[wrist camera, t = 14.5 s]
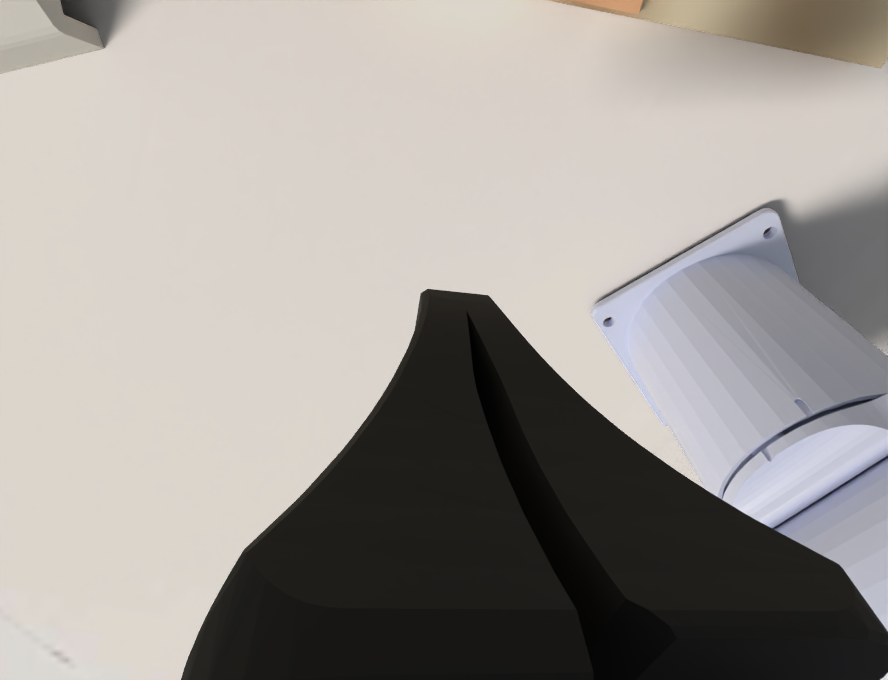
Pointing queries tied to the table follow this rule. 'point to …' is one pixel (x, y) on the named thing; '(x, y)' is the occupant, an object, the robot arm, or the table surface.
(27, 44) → the grey rounded block
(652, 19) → the rail
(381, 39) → the table surface
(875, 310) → the table surface
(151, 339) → the table surface
